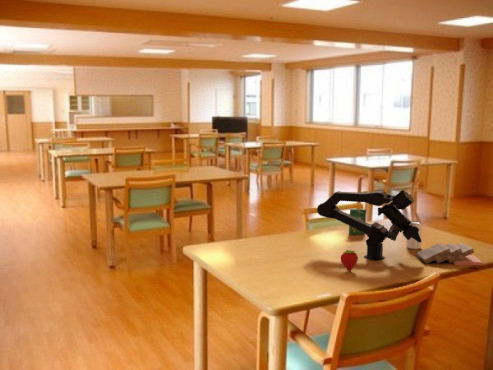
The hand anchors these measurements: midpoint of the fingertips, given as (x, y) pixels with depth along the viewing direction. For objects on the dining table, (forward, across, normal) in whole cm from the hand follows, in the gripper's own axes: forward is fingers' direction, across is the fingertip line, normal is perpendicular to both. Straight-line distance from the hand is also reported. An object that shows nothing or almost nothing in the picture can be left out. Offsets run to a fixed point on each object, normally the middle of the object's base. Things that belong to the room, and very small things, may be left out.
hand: (420, 241), depth 210 cm
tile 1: (+6, 0, -5) cm, 7 cm away
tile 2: (+9, 0, -1) cm, 9 cm away
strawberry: (-16, +16, -28) cm, 36 cm away
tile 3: (+12, 0, +2) cm, 12 cm away
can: (+8, -20, -4) cm, 22 cm away
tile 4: (+15, 0, +4) cm, 15 cm away
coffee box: (-8, -42, -20) cm, 48 cm away
